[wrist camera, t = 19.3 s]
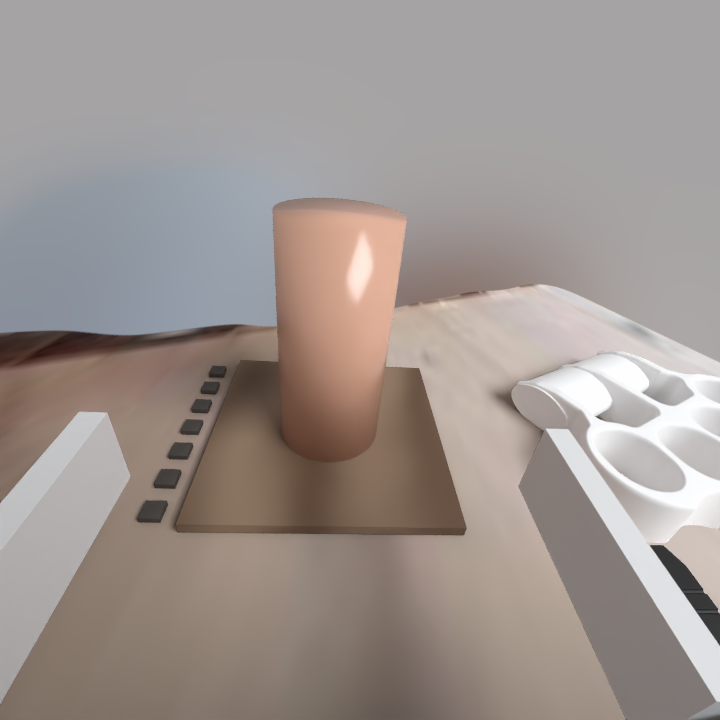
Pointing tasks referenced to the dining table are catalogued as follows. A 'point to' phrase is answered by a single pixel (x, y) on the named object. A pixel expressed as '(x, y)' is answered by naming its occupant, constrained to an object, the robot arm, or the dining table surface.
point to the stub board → (313, 468)
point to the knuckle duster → (638, 434)
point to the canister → (334, 320)
